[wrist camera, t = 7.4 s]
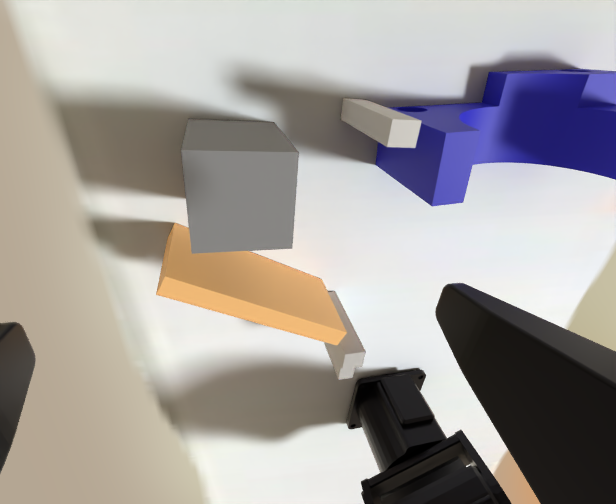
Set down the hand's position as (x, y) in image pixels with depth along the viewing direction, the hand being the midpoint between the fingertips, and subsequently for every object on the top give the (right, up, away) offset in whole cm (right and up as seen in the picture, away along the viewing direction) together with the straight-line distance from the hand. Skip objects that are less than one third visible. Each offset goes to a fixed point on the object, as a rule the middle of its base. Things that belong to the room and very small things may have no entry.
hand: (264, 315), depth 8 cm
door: (-3, +1, +13) cm, 13 cm away
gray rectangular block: (-3, +6, +10) cm, 12 cm away
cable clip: (+10, +9, +12) cm, 18 cm away
